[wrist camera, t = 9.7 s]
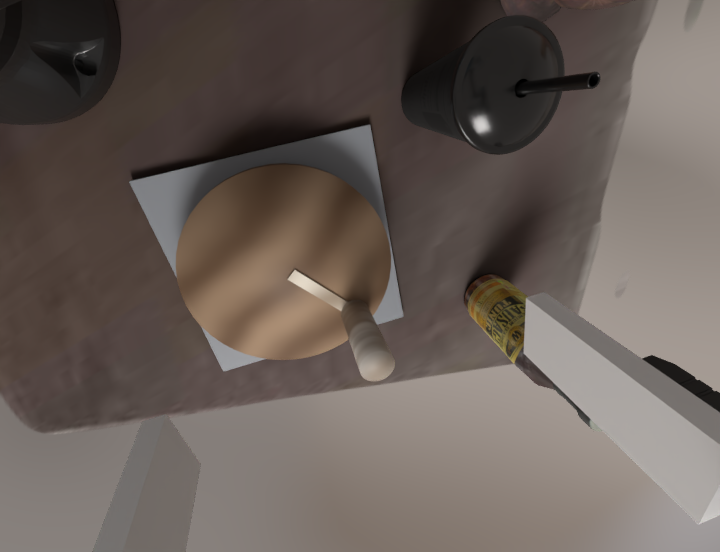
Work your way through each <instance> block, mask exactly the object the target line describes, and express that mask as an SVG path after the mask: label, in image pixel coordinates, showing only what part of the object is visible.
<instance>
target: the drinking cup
mask: <svg viewBox="0 0 720 552" xmlns="http://www.w3.org/2000/svg"><path fill="white" fill-rule="evenodd" d="M564 73H565V70H564V59H563V55H562V51H561V48H560V45H559V43H558V41H557V39H556V37H555V35H554V34H553V33H552V31H551V30H550V29H549V28H548V27H547V26H546V25H545V24H544V23H542V22H541V21H539V20H537V19H535V18H532V17H529V16H524V15H512V16H507V17H503V18H501V19H498V20H496V21H494V22H492V23H490V24H488V25H487V26H485V27H484V28H483V29H481V30H480V31H479V32H478V33H477V34H476V35H475V36H474V37H473V38H472V39H471V40H470V41H469V42H467V43H466V44H464V45H462V46H461V47H459V48H457V49H456V50H454V51H452V52H451V53H449V54H447V55H446V56H444V57H442V58H441V59H439V60H437V61H436V62H434V63H432V64H431V65H429V66H427V67H426V68H424V69H423V70H421V71H419V72H418V73H416V74H414V75H413V76H412V77H411V78H410V79H409V80H408V81H407V83H406V85H405V87H404V89H403V92H402V100H401V102H402V108H403V112H404V114H405V116H406V117H407V119H408V120H409V121H410V122H412V123H413V124H415V125H417V126H420V127H423V128H426V129H429V130H432V131H435V132H438V133H441V134H444V135H447V136H450V137H453V138H456V139H459V140H462V141H465V142H467V143H468V144H469V145H471V146H472V147H473V148H475V149H477V150H479V151H481V152H485V153H488V154H498V155H500V154H507V153H511V152H515V151H517V150H519V149H521V148H523V147H525V146H526V145H528V144H529V143H531V142H532V141H533V140H535V139H536V138H537V137H538V136H539V135H540V134H541V133H542V131H543V130H544V129H545V128H546V126H547V125H548V124H549V122H550V121H551V119H552V117H553V115H554V113H555V111H556V109H557V107H558V104H559V101H560V98H561V95H562V91H570V90H582V89H593V88H595V87H596V86H597V85H598V84H599V82H600V74H599V73H598V72H591V73H583V74H576V75H569V76H564Z"/></svg>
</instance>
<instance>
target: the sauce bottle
mask: <svg viewBox="0 0 720 552" xmlns="http://www.w3.org/2000/svg"><path fill="white" fill-rule="evenodd" d="M527 297H528V296H526V295H525V294H524V293H522V292H521V291H520V290H518V289H517V288H516V287H515V286H513V285H512V284H511V283H510V282H508V281H507V280H504V279H502V278H501V277H500V276H497V275H491V274H489V275H485V276H482V277H480V278H478V279H477V280H475V281H474V282H473V283H471V285H470V286H469V287H468V289H467V291H466V294H465V300H464V301H465V302H464V304H465V306H466V308H467V310H468V311H469V314H470V315H471V317H472V318H473V319H474V320H475V321H476V322H477V323H478V324H479V326H480V327H481V328H482V329H483V330H484V331H485V332H486V333H487V334H488V335H489V337H490V338H491V339H492V340H493V341H494V342H495V343H496V344H497V345H498V346H499V347H500V349H501V350H502V351H503V352H504V353H505V354H506V355H507V356H508V358H509V359H510V360H511V361H512V362H513V363H514V364H515V365H516V366H517V367H518V368H519V369H520V370H521V371H523V372H524V373H525V374H526V375H527V376H528V377H529V378H530V379H531V380H532V381H534V383H536V384H537V385H539V386H543V387H547V388H551V389H554V390H556V391H557V392H558V394H559V395H561V396H563V397H564V398H565V399H566V400H567V401H568V402H569V403H570V404H571V405H572V406H573V407H574V408H575V409H576V410H577V412H578V415H579V417H580V418H581V419H582V420H583V421H584V422H585V423H586V424H587V425H588V426H589V427H591V429H593V430H595V431H602V430H601V429H600V428H599V427H598V426H597V425H596V424H595V423H594V422H593V421H592V420H591V419H590V418H589V417H588V416H587V415H586V414H585V413H584V412H583V411H582V410H581V409H580V408H579V407H578V406H577V405H576V404H575V403H574V402H573V401H572V400H571V399H570V398H569V397H568V396H567V395H566V394H565V393H564V392H562V391H561V390H560V389H559V388H558V387H557V386H556V385H555V384H554V383H553V382H552V381H551V380H550V379H549V378H548V377H547V376H546V375H545V374H544V373H543V372H542V371H541V370H540V369H539V368H538V367H537V366H536V365H535V364H534V363H533V362H532V361H531V360H530V359H529V358H528V357H527V356H526V355H525V354H524V332H525V309H526V298H527Z"/></svg>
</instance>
